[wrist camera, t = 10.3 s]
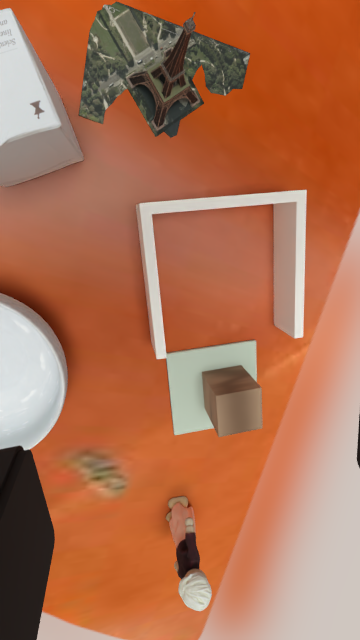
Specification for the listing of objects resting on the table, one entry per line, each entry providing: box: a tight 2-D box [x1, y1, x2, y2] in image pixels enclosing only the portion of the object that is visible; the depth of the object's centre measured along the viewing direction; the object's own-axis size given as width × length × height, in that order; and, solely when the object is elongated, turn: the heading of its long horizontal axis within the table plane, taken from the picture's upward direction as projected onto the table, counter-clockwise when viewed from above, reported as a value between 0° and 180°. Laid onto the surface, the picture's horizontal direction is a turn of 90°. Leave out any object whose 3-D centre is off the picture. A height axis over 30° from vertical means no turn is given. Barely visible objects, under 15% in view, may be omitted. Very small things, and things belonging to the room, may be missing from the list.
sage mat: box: [166, 340, 257, 435], centre depth 42 cm, size 11×11×1 cm
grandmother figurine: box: [166, 496, 212, 611], centre depth 41 cm, size 8×4×13 cm, turn 1°
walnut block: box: [202, 365, 262, 437], centre depth 39 cm, size 5×5×6 cm
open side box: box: [136, 190, 307, 359], centre depth 36 cm, size 16×15×5 cm
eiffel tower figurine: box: [79, 2, 250, 137], centre depth 27 cm, size 15×10×13 cm
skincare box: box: [0, 8, 84, 187], centre depth 25 cm, size 8×6×15 cm
